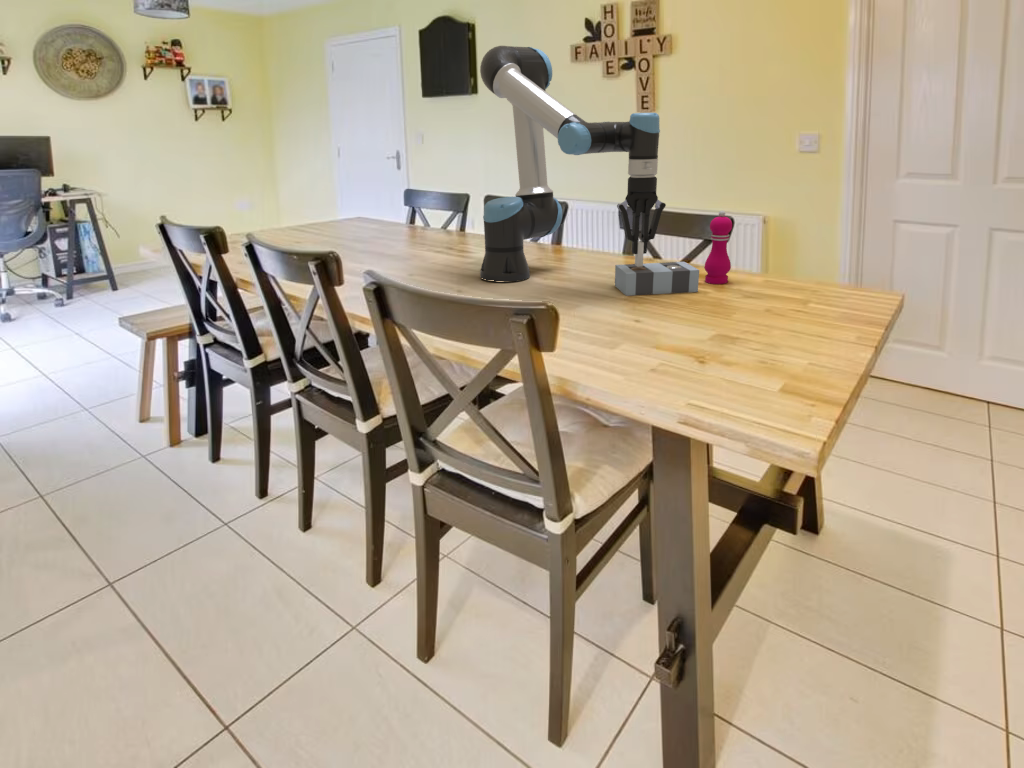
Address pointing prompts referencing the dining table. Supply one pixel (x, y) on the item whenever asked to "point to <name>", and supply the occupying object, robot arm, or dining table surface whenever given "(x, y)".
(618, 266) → the socket block
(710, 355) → the dining table surface
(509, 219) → the robot arm
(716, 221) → the pepper mill
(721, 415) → the dining table surface
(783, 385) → the dining table surface
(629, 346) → the dining table surface
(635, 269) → the walnut peg
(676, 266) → the grey metal peg
